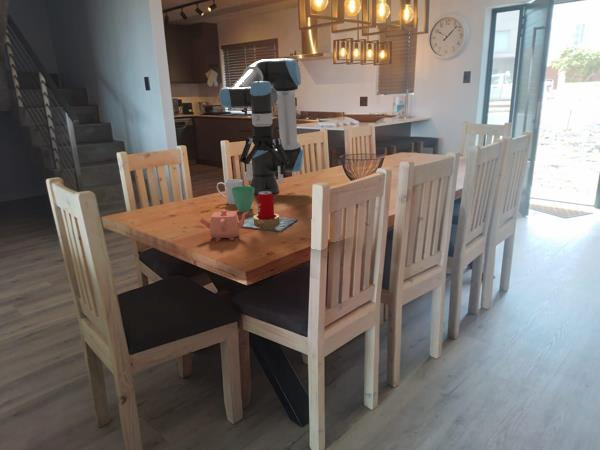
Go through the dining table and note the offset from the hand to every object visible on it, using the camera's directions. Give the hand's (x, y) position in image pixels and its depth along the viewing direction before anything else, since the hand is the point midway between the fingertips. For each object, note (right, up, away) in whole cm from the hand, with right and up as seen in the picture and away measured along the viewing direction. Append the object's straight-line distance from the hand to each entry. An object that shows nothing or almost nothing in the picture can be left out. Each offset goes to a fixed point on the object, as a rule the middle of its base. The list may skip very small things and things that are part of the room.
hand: (265, 181), depth 169 cm
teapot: (-13, -21, -10) cm, 27 cm away
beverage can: (0, -16, +5) cm, 16 cm away
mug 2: (-11, -10, +26) cm, 30 cm away
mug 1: (-19, -6, +38) cm, 43 cm away
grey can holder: (0, -16, +5) cm, 17 cm away
